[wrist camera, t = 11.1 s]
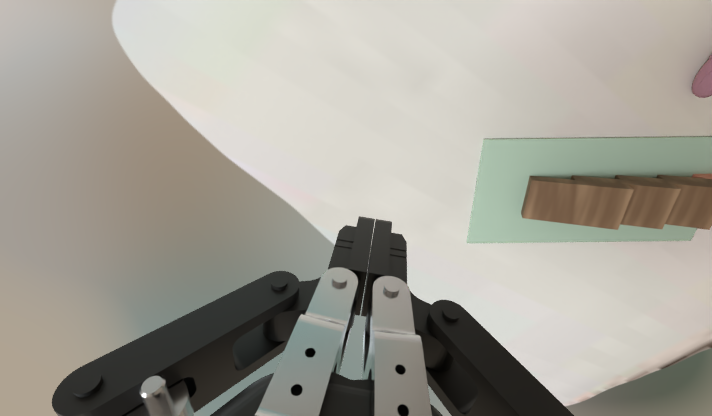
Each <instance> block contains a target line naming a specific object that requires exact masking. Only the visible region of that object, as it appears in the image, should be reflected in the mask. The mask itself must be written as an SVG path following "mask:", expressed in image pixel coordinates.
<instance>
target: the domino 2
mask: <svg viewBox="0 0 712 416" xmlns="http://www.w3.org/2000/svg"><path fill="white" fill-rule="evenodd" d="M571 179H572V180H583V181H594V182H605V183H616V184H628V185H629V186H630V187H631V188H632V189H634V191H633V193H632V196H631V198H630V201H629V203H628V206H627V208H626V211H625V213H624V216H623V218H622V221H621V223H620V225H629V226H637V227H645V228H654V229H663V227H664V225H665V223H666V220H667V218H668V216H669V214H670V212H671V210H672V208H673V205H674V203H675V201H676V199H677V197H678V195H679V193H680V190H681V189H680V188H678V187H677V186H675V185H674V184H667V183H655V182H644V181H632V180H621V179H609V178H598V177H586V176H574V175H572V176H571Z"/></svg>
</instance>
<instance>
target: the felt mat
mask: <svg viewBox="0 0 712 416" xmlns="http://www.w3.org/2000/svg"><path fill="white" fill-rule="evenodd" d="M693 174H712V136H711V137H618V138H525V139H484V140H483V146H482V152H481V159H480V165H479V171H478V177H477V183H476V189H475V195H474V201H473V207H472V213H471V219H470V225H469V231H468V237H467V243H536V242H621V241H691V239H692V237H693V235H694V233H695V231H696V230H697V228H691V227H683V226H675V225H667V224H665V225H664V227H663V229H654V228H645V227H637V226H629V225H620V226H619V228H618V230H614V229H606V228H598V227H590V226H582V225H573V224H565V223H557V222H549V221H541V220H533V219H525V218H522V215H521V210H522V206H523V202H524V197H525V193H526V189H527V185H528V181H529V177H530V176H538V177H549V178H560V179H571V176H572V175H574V176H586V177H598V178H609V179H615V176H616V175H623V176H635V177H646V178H656V177H657V175H669V176H681V177H692V175H693Z"/></svg>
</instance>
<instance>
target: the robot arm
mask: <svg viewBox="0 0 712 416" xmlns="http://www.w3.org/2000/svg"><path fill="white" fill-rule="evenodd" d="M374 220H375V219H372V218H366V217H359V219H358V223H357V227H353V226H347V225H346V226H345V227H343V228H342V229H341V230H340V231H339V234H338V237H337V240H336V244H335V247H334V251H333V254H332V257H331V261H330V264H329V267H328V270H327V271H325V272H324V273H323V275H322V277H320V278H318V279H316V280H312V281H301V282H299V280H298V278H297V277H296V276H295V275H293V274H292V273H289V272H286V271H276V272H273V273H270V274H268V275H266V276H264V277H262V278H260V279H258V280H255V281H254V282H251V283H249V284H247V285H245V286H243V287H242V288H239V289H237V290H236V291H233V292H231V293H229V294H227V295H225V296H223V297H221V298H219V299H217V300H215V301H213V302H211V303H209V304H207V305H205V306H203V307H201V308H199V309H197V310H195V311H193V312H191V313H189V314H187V315H185V316H183V317H181V318H179V319H177V320H175V321H173V322H171V323H169V324H167V325H165V326H163V327H161V328H159V329H156V330H155V331H153V332H150V333H149V334H146V335H144V336H142V337H140V338H139V339H136V340H134V341H132V342H130V343H128V344H126V345H124V346H122V347H120V348H118V349H116V350H114V351H112V352H110V353H108V354H106V355H104V356H102V357H100V358H98V359H96V360H94V361H92V362H90V363H88V364H86V365H84V366H82V367H80V368H78V369H77V370H75V371H74V372H72V373H71V374H70V375H68V376H67V377H66V378H65V379H64V380H63V381H62V382H61V383H60V385H59V386H58V387H57V389H56V391H55V393H54V395H53V398H52V406H53V408H54V411H55V412H56V413H57V415H58V416H194V413H195V412H196V411H198V410H199V409H201V408H202V407H203V406H205V405H206V404H208V403H209V402H210V401H212V400H214V399H215V398H216V397H218V396H219V395H221V394H222V393H224V392H225V391H227V390H228V389H230V388H231V387H232V386H234V385H235V384H237V383H238V382H240V381H241V380H243V379H244V378H245V377H247V376H248V375H250V374H251V373H253V372H254V371H256V370H257V369H258V368H260V367H261V366H263V365H264V364H265V363H267V362H268V361H270V360H271V359H273V358H274V357H276V356H277V355H279V354H280V353H282V352H283V351H284V352H283V354H282V357H281V359H280V361H279V363H278V366H277V368H276V370H275V372H274V373H273V374H270V375H267V376H265V377H263V378H261V379H259V380H257V381H256V382H254V383H252V384H251V385H250V386H248V387H247V388H246V389H244V390H243V391H242V392H240V393H239V394H238V395H237V396H235V397H234V398H233V399H231V400H230V401H229V402H227V403H226V404H225V405H223V406H222V407H221V408H220V409H218V410H217V411H215V412H214V413H213V414H212V415H210V416H442V414H441V413H440V412H439V411H438V410H437V409H436V408H434V406H432V405H431V404H430V398H429V391H428V385H429V386H430V387H431V389H432V390H433V391H434V393H435V394H436V395H437V397H438V398H439V399H440V401H441V402H442V403H443V405H444V406H445V407H446V409H447V410H448V411H449V413H450V414H451V415H452V416H574V415H573V414H572V413H571V412H570V411H569V410H568V409H567V408H566V407H565V406H564V405H563V404H562V403H561V402H560V401H559V400H557V399H556V398H555V397H554V396H553V395H552V394H551V393H550V392H549V391H548V390H547V389H546V388H545V387H544V386H543V385H542V384H541V383H540V382H539V381H538V380H537V379H536V378H535V377H534V376H533V375H532V374H531V373H530V372H529V371H528V370H527V369H526V368H525V367H524V366H522V365H521V364H520V363H519V362H518V361H517V360H516V359H515V358H514V357H513V356H512V355H511V354H510V353H509V352H508V351H507V350H506V349H505V348H504V347H503V346H502V345H501V344H500V343H499V342H498V341H497V340H496V339H495V338H494V337H493V336H492V335H491V334H490V333H488V332H487V331H486V330H485V329H484V328H483V327H482V326H481V325H480V324H479V323H478V322H477V321H476V320H475V319H474V318H473V317H472V316H471V315H470V314H469V313H468V312H467V311H466V310H465V309H464V308H463V307H461V306H460V305H459V304H457V303H455V302H452V301H449V300H439V301H436V302H434V303H433V304H432V305H431V304H429V303H426V302H424V301H422V300H420V299H418V298H417V297H416V296H414V295H413V294H412V293H411V291H410V289H409V287H408V285H407V259H406V257H407V252H406V251H407V248H406V241H405V239H404V237H403V236H402V234H395V233H391V228H392V222H390V221H384V220H378V219H376V222H375V228H374V233H373V227H374ZM372 234H373V239H372ZM371 241H372V245H371ZM370 248H371V251H370ZM369 255H370V257H369ZM368 262H369V264H368ZM367 269H368V271H367ZM366 275H367V278H366ZM365 281H366V285H365ZM364 287H365V293H364ZM363 293H364V300H363V307H362V314H361V316H366V325H365V329H364V336H363V363H362V380H350V379H348V378H345V377H343V376H341V375H339V373H340V369H341V366H342V362H343V358H344V354H345V350H346V346H347V343H348V339H349V335H350V330H351V328H352V326H353V322H354V316H355V315H360V310H361V304H362V298H363Z"/></svg>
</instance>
